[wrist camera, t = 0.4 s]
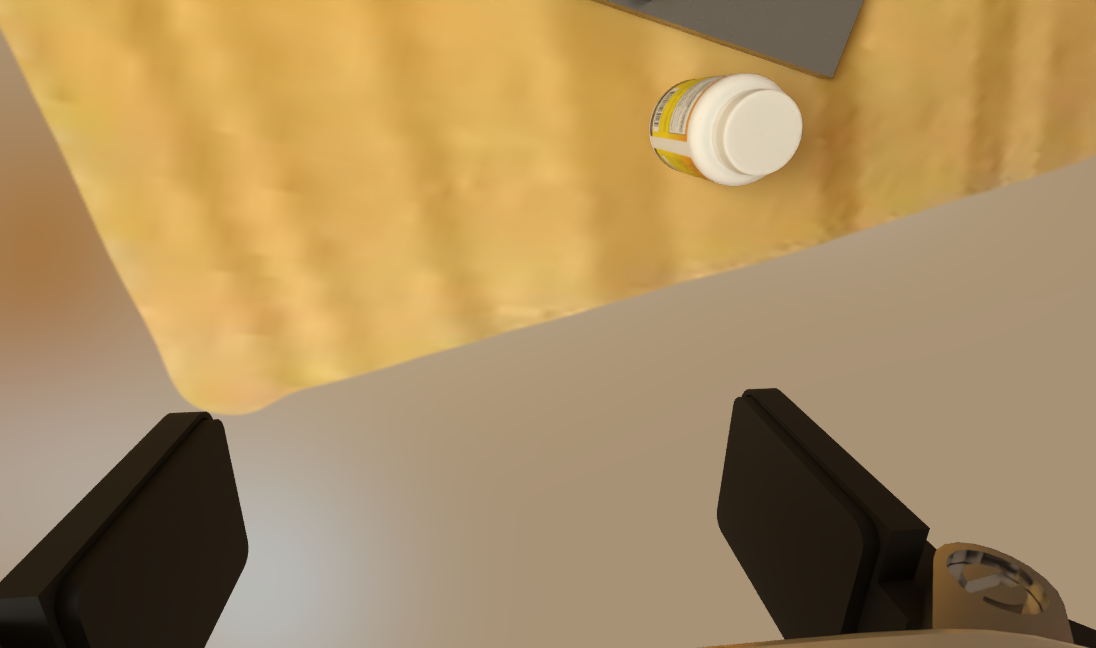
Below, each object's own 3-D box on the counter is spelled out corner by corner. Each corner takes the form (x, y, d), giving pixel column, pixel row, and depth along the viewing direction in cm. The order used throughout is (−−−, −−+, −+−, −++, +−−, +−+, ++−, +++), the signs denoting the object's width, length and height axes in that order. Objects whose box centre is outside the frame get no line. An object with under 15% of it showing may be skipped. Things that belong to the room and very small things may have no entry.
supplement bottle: (734, 159, 38) (822, 178, 28) (653, 179, 37) (714, 206, 28) (725, 69, 35) (817, 57, 26) (639, 90, 35) (701, 86, 26)
